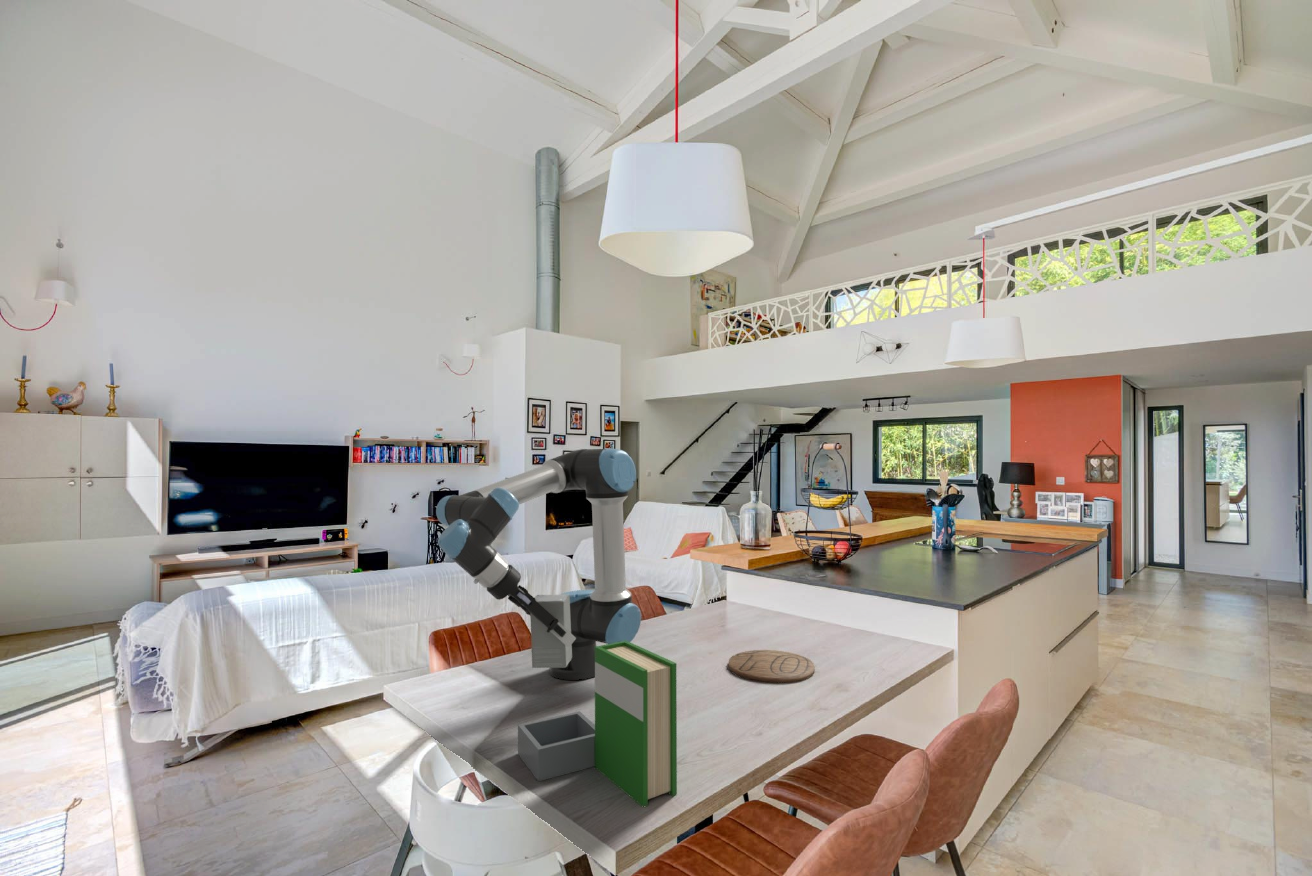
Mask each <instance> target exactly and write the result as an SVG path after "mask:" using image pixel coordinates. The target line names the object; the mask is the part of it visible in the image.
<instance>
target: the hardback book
mask: <svg viewBox="0 0 1312 876" xmlns="http://www.w3.org/2000/svg"><path fill="white" fill-rule="evenodd" d="M677 702H678V701H677V662H674V661H672V660H670V659H668V658H665V657H664V656H662V655H659V654H657V653H654V652H652V651H650V650H647V649H645V648H644V647H641V646H640V645H637V644H634V643H632V642H628V641H622V642H617V643H612V644H606V643H605V644H603V645H597V646H596V647H595V677H594V725H595V766H594V768H595V769H596V770H598V771H599V772H600V773H601V774H603V775H604V776H605V778H608V779H609V780H610V781H611V782H612V783H613V784H615V785H616V786H617V787H618V788H619V789H620V790H622V791H623V792H624V793H626V795H628V796H629V797H630V798H632V799H633V800H634V801H635V802H636V803H638V804H639V805H640V806H641V807H642V806H643V807H642V808H645V807H644V806H646V807H648V806H647V805H649V804H648V803H649V801H648V800H650V799H653V798H656V797H658V796H661V795H664V794H667V793H668V792H669V793H670V794H669V793H668V794H669V795H671V796H672V795H674V796H677V795H676V794H678V784H677V783H678V779H677V778H678V777H677V776H678V775H677V774H678V771H677V770H678V769H677V768H678V766H677V764H678V761H677V760H678V759H677V757H678V755H677V754H678V753H677V751H678V750H677V749H678V747H677V746H678V744H677V743H678V739H677V737H678V735H677V734H678V733H677V730H678V729H677V728H678V725H677V723H678V721H677V716H678V715H677Z"/></svg>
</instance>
